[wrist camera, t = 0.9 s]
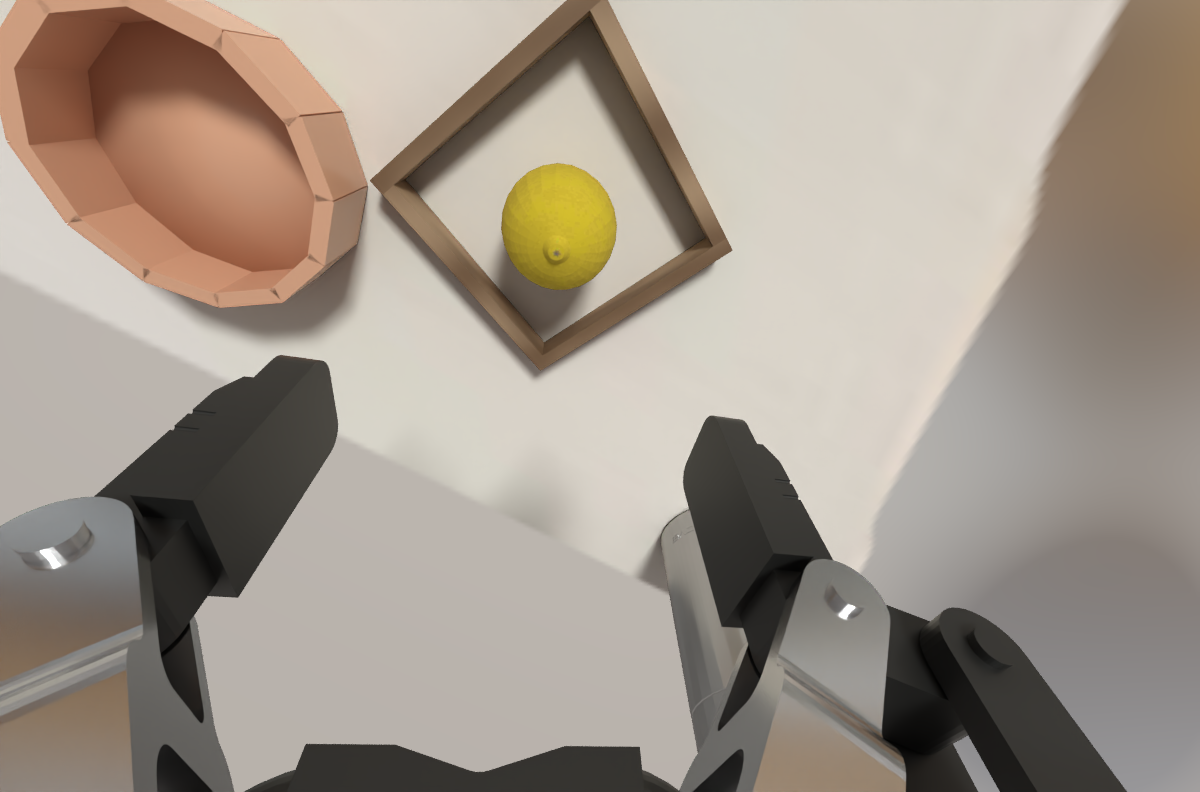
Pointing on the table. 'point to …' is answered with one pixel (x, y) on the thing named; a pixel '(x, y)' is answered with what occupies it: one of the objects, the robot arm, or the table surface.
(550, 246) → the lemon
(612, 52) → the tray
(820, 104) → the table surface
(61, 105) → the bowl
